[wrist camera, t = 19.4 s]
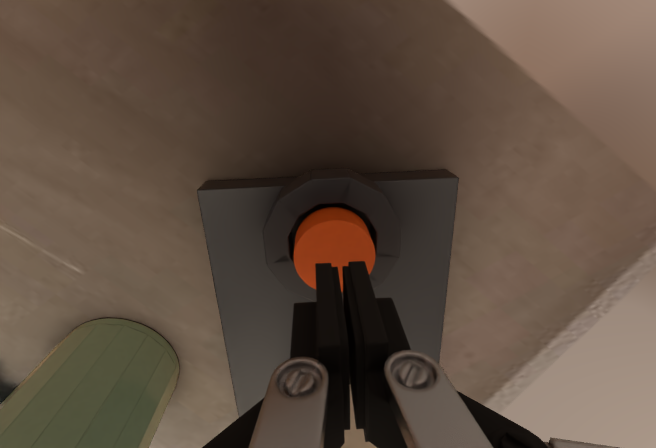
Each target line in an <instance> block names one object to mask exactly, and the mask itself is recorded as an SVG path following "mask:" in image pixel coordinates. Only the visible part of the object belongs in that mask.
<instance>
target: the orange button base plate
mask: <svg viewBox="0 0 656 448" xmlns="http://www.w3.org/2000/svg"><path fill="white" fill-rule="evenodd" d="M458 180H459V178H458V177H457V176H456V175H454V174H453V173H451V172H450V171H448V170H428V171H407V172H386V173H365V174H357V173H355V172H353V171H351V170H349V169H346V168H339V169H318V170H311V171H308V172H307V173H305V174H304V175H302V176H300V177H282V178H261V179H240V180H219V181H206V182H205V183H204V184H203V185H202V186H201V187H200V188H199V189H198V190H197V194H198V200H199V205H200V210H201V216H202V221H203V227H204V232H205V237H206V243H207V248H208V254H209V259H210V264H211V270H212V275H213V281H214V286H215V291H216V297H217V302H218V307H219V313H220V318H221V324H222V329H223V334H224V340H225V345H226V351H227V356H228V361H229V367H230V372H231V377H232V383H233V388H234V394H235V399H236V404H237V410H238V415H239V418H240V417H241V416H242V415H243V414H244V413H246V412H247V411H248V410H249V409H251V408H252V407H253V406H254V405H256V404H257V403H258V402H259V401H261V400H262V399H263V398H264V397H265V394H266V391H267V388H268V385H269V381H270V378H271V376H272V374H273V372H274V370H275V369H276V368H277V367H278V366H279V365H280V364H281V363H283V362H284V361H286V360H288V359H290V351H291V337H292V322H293V308H294V303H303V302H316V289H314V288H312V287H310V286H309V285H307V284H306V283H305V282H304V281H303V280H302V279H301V278H300V276H299V275H298V273H297V271H296V268H295V265H294V246H295V237H296V232H297V230H298V227H299V225H300V224H301V222H302V221H303V220H304V219H305V218H306V217H307V216H308V215H309V214H311V213H312V212H314V211H316V210H319V209H321V208H326V207H341V208H345V209H348V210H350V211H352V212H354V213H355V214H357V215H358V216H359V217H360V218H361V219H362V220H363V221H364V223H365V224H366V226H367V229H368V231H369V234H370V236H371V239H372V242H373V244H374V248H375V263H374V266H373V269H372V271H371V273H370V274H369V277H370V281H371V284H372V287H373V291H374V294H375V298H388V297H391V298H392V299H393V302H394V304H395V307H396V310H397V313H398V315H399V318H400V321H401V324H402V326H403V329H404V332H405V334H406V337H407V340H408V343H409V345H410V348H411V350H414V351H420V352H422V353H425V354H427V355H429V356H430V357H432V358H433V359H435V361H436V362H437V363H438V364H439V359H440V350H441V340H442V331H443V322H444V312H445V303H446V293H447V284H448V274H449V265H450V256H451V246H452V237H453V227H454V218H455V209H456V199H457V190H458ZM341 293H342V300H343V292H341Z"/></svg>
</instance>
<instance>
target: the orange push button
mask: <svg viewBox="0 0 656 448" xmlns="http://www.w3.org/2000/svg"><path fill="white" fill-rule="evenodd" d="M352 261H365V263H366V267H367V270H368V274H370V273H371V271H372V269H373V266H374V263H375V248H374V244H373V242H372V239H371V236H370V234H369V231H368V229H367V226H366V224H365V223H364V221H363V220H362V219H361V218H360V217H359V216H358V215H357V214H355V213H354V212H352V211H350V210H348V209H345V208H341V207H326V208H321V209H319V210H316V211H314V212H312V213H311V214H309V215H308V216H307V217H306V218H305V219H304V220H303V221H302V222H301V224H300V225H299V227H298V230H297V232H296V237H295V246H294V265H295V268H296V271H297V273H298V275H299V276H300V278H301V279H302V280H303V281H304V282H305V283H306V284H307V285H309V286H310V287H312V288H314V289H316V267H315V263H331V265H332V267H337V266H338V272H339V279H340V286H341V292H343V271H342V268H343V266H348V262H352Z"/></svg>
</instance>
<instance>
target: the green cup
mask: <svg viewBox="0 0 656 448" xmlns="http://www.w3.org/2000/svg"><path fill="white" fill-rule="evenodd" d="M178 377H179V362H178V359H177V356H176V354H175V352H174V350H173V349H172V347H171V346H170V344H169V343H168V342H167V341H166V340H165V339H164V338H163V337H162V336H161V335H159V334H158V333H156V332H155V331H153V330H152V329H150V328H148V327H146V326H144V325H142V324H139V323H136V322H133V321H129V320H125V319H117V318H105V319H97V320H93V321H90V322H87V323H84V324H82V325H80V326H78V327H77V328H75V329H74V330H73V331H72V332H70V333H69V334H68V335H67V336H66V338H64V339H63V340H62V341H61V342H60V343H59V344H58V345H57V346H56V347H55V348H54V349H53V350H52V351H51V352H50V353H49V354H48V355H47V356H46V357H45V358H44V359H43V360H42V361H41V362H40V364H39V365H38V366H37V367H36V368H35V369H34V370H33V371H32V372H31V373H30V374H29V375H28V376H27V377H26V378H25V379H24V380H23V381H22V382H21V383H20V384H19V386H18V387H17V388H16V389H15V390H14V391H13V392H12V393H11V394H10V395H9V396H8V397H7V398H6V399H5V400H4V401H3V402H2V403H1V404H0V448H149V446H150V443H151V441H152V439H153V437H154V434H155V432H156V430H157V427H158V425H159V423H160V421H161V418H162V416H163V414H164V412H165V409H166V407H167V405H168V402H169V400H170V398H171V396H172V393H173V391H174V389H175V386H176V384H177V380H178Z"/></svg>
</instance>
